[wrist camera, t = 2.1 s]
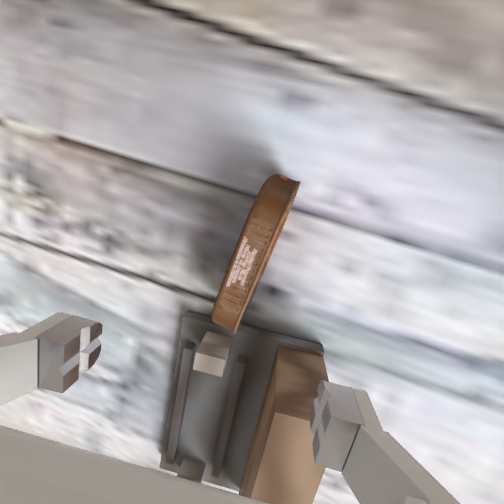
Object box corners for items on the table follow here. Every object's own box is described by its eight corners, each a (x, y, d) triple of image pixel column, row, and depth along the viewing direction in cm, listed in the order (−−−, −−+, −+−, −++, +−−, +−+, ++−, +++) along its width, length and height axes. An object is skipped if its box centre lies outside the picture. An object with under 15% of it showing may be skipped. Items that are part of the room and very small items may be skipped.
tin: (246, 310, 30) (233, 355, 22) (221, 299, 30) (198, 340, 22) (301, 184, 26) (308, 182, 18) (272, 172, 26) (266, 165, 18)
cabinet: (322, 344, 30) (341, 424, 20) (276, 489, 36) (273, 608, 26) (187, 310, 31) (140, 370, 21) (164, 456, 37) (119, 558, 27)
